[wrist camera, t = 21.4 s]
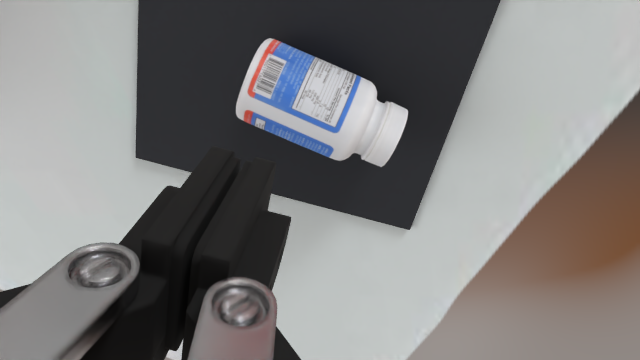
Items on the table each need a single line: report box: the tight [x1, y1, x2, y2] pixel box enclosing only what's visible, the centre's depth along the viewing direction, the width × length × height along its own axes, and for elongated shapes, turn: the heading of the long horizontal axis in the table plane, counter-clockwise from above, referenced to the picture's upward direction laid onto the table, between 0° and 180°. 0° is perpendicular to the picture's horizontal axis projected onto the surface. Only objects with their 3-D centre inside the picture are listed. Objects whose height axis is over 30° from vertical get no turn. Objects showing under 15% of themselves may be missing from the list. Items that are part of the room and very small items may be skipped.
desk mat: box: [136, 0, 500, 230], centre depth 31 cm, size 22×18×1 cm
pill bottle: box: [236, 38, 408, 167], centre depth 29 cm, size 6×5×10 cm
